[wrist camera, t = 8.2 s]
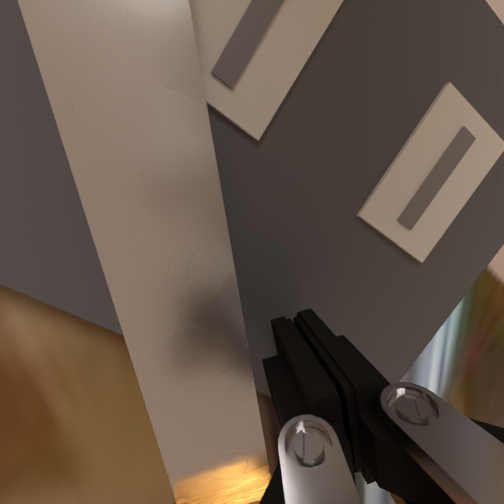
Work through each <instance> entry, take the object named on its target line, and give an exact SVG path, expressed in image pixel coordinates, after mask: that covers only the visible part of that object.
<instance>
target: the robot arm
mask: <svg viewBox="0 0 504 504" xmlns="http://www.w3.org/2000/svg"><path fill="white" fill-rule="evenodd" d="M293 320H294V323H293V321H292V320H291V319H290V318H289V319H286V318H285V317H284V316H282V317H279V318H275V319H272V320H271V326H272V331H273V336H274V340H275V345H276V349H277V354H278V355H275V356H272V357H268V358H265V359H262V363H263V367H264V371H265V375H266V379H267V383H268V387H269V391H270V394H271V397H272V401H273V404H274V407H275V410H276V413H277V417H278V420H279V423H280V426H281V432H280V435H279V438H278V449H279V457H280V461H279V463H278V465H277V467H276V470H275V472H274V474H273V476H272V478H271V480H270V482H269V484H268V486H267V488H266V490H265V492H264V494H263V496H262V498H261V500H260V502H259V504H362V503H361V500H360V497H359V495H358V492H357V489H356V482H355V475H354V472H355V473H356V472H359V471H360V472H361V473H362V475H363V477H364V479H365V481H366V482H367V484H370V483H372V482H375V481H376V482H377V484H378V486H379V487H380V488H382V489H384V490H386V491H388V492H390V494H391V497H392V498H393V500H394V502H395V503H396V504H504V428H501V427H497V426H494V425H490V424H487V423H484V422H480V421H477V420H473V419H470V418H467V417H466V416H465V415H463V414H462V413H460V412H459V411H458V410H456V409H455V408H454V407H452V406H451V405H449V404H448V403H447V402H445V401H444V400H443V399H441V398H440V397H438V396H437V395H436V394H434V393H433V392H431V391H429V390H428V389H426V388H424V387H422V386H419V385H416V384H413V383H407V382H398V383H393V384H390V383H389V382H388V381H387V379H386V378H385V377H384V376H383V375H382V374H381V373H380V372H379V371H378V370H377V369H376V368H375V367H374V366H373V365H372V364H371V363H370V362H369V361H368V360H367V359H366V358H365V356H364V355H363V354H362V353H361V352H360V351H359V350H358V349H357V348H356V347H355V346H354V345H353V344H352V343H351V342H350V341H349V340H348V339H347V338H346V337H345V336H344V335H340V336H335V334H334V333H333V332H332V331H331V330H330V329H329V328H328V327H327V325H326V324H325V323H324V322H323V321H322V320H321V319H320V318H319V317H318V315H317V314H316V313H315V312H314V311H313V310H312V309H311V308H309V309H306V310H303V311H299V312H297V316H295V317H293Z"/></svg>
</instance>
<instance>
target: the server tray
mask: <svg viewBox="0 0 504 504" xmlns="http://www.w3.org/2000/svg"><path fill="white" fill-rule="evenodd" d="M189 5H190V11H191V17H192V22H193V28H194V34H195V40H196V46H197V52H198V57H199V63H200V69H201V75H202V81H203V86H204V92H205V98H206V104H207V110H208V115H209V121H210V127H211V133H212V139H213V145H214V150H215V156H216V162H217V168H218V174H219V179H220V185H221V191H222V197H223V203H224V209H225V214H226V220H227V226H228V232H229V238H230V243H231V249H232V255H233V261H234V267H235V273H236V278H237V284H238V290H239V296H240V302H241V307H242V313H243V319H244V325H245V331H246V337H247V342H248V348H249V354H250V360H251V366H252V371H253V377H254V383H255V389H256V391H257V392H259V393H262V394H264V395H266V396H269V397H271V394H270V391H269V387H268V383H267V379H266V375H265V371H264V367H263V363H262V359H265V358H268V357H272V356H275V355H278V354H277V349H276V345H275V340H274V336H273V331H272V326H271V320H272V319H275V318H279V317H282V316H284V317H285V318H286V319H289V318H290V319H291V320H292V321H293V323H294V320H293V317H295V316H297V312H299V311H303V310H306V309H309V308H311V309H312V310H313V311H314V312H315V313H316V314H317V315H318V317H319V318H320V319H321V320H322V321H323V322H324V323H325V324H326V325H327V327H328V328H329V329H330V330H331V331H332V332H333V333H334V334H335V336H340V335H344V336H345V337H346V338H347V339H348V340H349V341H350V342H351V343H352V344H353V345H354V346H355V347H356V348H357V349H358V350H359V351H360V352H361V353H362V354H363V355H364V356H365V358H366V359H367V360H368V361H369V362H370V363H371V364H372V365H373V366H374V367H375V368H376V369H377V370H378V371H379V372H380V373H381V374H382V375H383V376H384V377H385V378H386V379H387V381H388V382H389V383H390V384H393V383H398V382H399V381H400V380H401V379H402V377H403V376H404V375H405V373H406V372H407V371H408V369H409V368H410V367H411V366H412V364H413V363H414V362H415V360H416V359H417V358H418V356H419V355H420V354H421V352H422V351H423V350H424V348H425V347H426V346H427V344H428V343H429V342H430V340H431V339H432V338H433V337H434V335H435V334H436V333H437V331H438V330H439V329H440V327H441V326H442V325H443V323H444V322H445V321H446V319H447V318H448V317H449V315H450V314H451V313H452V311H453V310H454V309H455V308H456V306H457V305H458V304H459V302H460V301H461V300H462V298H463V297H464V296H465V294H466V293H467V292H468V290H469V289H470V288H471V286H472V285H473V284H474V282H475V281H476V280H477V279H478V277H479V276H480V275H481V273H482V272H483V271H484V269H485V268H486V267H487V265H488V264H489V263H490V261H491V260H492V259H493V257H494V256H495V255H496V253H497V252H498V251H499V249H500V248H501V247H502V246H503V244H504V25H503V23H502V22H501V21H500V19H499V18H498V17H497V15H496V14H495V13H494V11H493V10H492V9H491V7H490V6H489V5H488V3H487V2H486V1H485V0H189ZM0 285H3V286H5V287H7V288H10V289H12V290H15V291H17V292H19V293H22V294H24V295H27V296H29V297H31V298H34V299H36V300H39V301H41V302H43V303H46V304H48V305H51V306H53V307H55V308H58V309H60V310H63V311H65V312H67V313H70V314H72V315H75V316H77V317H79V318H82V319H84V320H87V321H89V322H91V323H94V324H96V325H99V326H101V327H103V328H106V329H108V330H111V331H113V332H115V333H118V334H120V335H123V332H122V329H121V326H120V322H119V319H118V316H117V313H116V310H115V307H114V303H113V300H112V297H111V294H110V291H109V288H108V285H107V281H106V278H105V275H104V272H103V269H102V266H101V262H100V259H99V256H98V253H97V250H96V247H95V243H94V240H93V237H92V234H91V231H90V228H89V224H88V221H87V218H86V215H85V212H84V209H83V205H82V202H81V199H80V196H79V193H78V190H77V186H76V183H75V180H74V177H73V174H72V171H71V168H70V164H69V161H68V158H67V155H66V152H65V149H64V145H63V142H62V139H61V136H60V133H59V130H58V126H57V123H56V120H55V117H54V114H53V111H52V107H51V104H50V101H49V98H48V95H47V92H46V88H45V85H44V82H43V79H42V76H41V73H40V69H39V66H38V63H37V60H36V57H35V54H34V51H33V47H32V44H31V41H30V38H29V35H28V32H27V28H26V25H25V22H24V19H23V16H22V13H21V9H20V6H19V3H18V0H0ZM123 336H124V335H123ZM271 398H272V397H271Z"/></svg>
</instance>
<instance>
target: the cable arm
mask: <svg viewBox="0 0 504 504" xmlns="http://www.w3.org/2000/svg"><path fill="white" fill-rule="evenodd" d="M18 3H19V6H20V9H21V13H22V16H23V19H24V22H25V25H26V28H27V32H28V35H29V38H30V41H31V44H32V47H33V51H34V54H35V57H36V60H37V63H38V66H39V69H40V73H41V76H42V79H43V82H44V85H45V88H46V92H47V95H48V98H49V101H50V104H51V107H52V111H53V114H54V117H55V120H56V123H57V126H58V130H59V133H60V136H61V139H62V142H63V145H64V149H65V152H66V155H67V158H68V161H69V164H70V168H71V171H72V174H73V177H74V180H75V183H76V186H77V190H78V193H79V196H80V199H81V202H82V205H83V209H84V212H85V215H86V218H87V221H88V224H89V228H90V231H91V234H92V237H93V240H94V243H95V247H96V250H97V253H98V256H99V259H100V262H101V266H102V269H103V272H104V275H105V278H106V281H107V285H108V288H109V291H110V294H111V297H112V300H113V303H114V307H115V310H116V313H117V316H118V319H119V322H120V326H121V329H122V332H123V335H124V338H125V341H126V345H127V348H128V351H129V354H130V357H131V360H132V364H133V367H134V370H135V373H136V376H137V379H138V383H139V386H140V389H141V392H142V395H143V398H144V402H145V405H146V408H147V411H148V414H149V417H150V420H151V424H152V427H153V430H154V433H155V436H156V439H157V443H158V446H159V449H160V452H161V455H162V458H163V462H164V465H165V468H166V471H167V474H168V477H169V481H170V484H171V487H172V490H173V493H174V496H175V500H176V503H174V504H259V502H260V500H261V498H262V496H263V494H264V492H265V490H266V488H267V486H268V484H269V482H270V480H271V478H272V476H273V473H270V470H269V464H268V459H267V453H266V447H265V441H264V435H263V430H262V424H261V418H260V412H259V406H258V400H257V395H256V389H255V383H254V377H253V371H252V366H251V360H250V354H249V348H248V342H247V337H246V331H245V325H244V319H243V313H242V307H241V302H240V296H239V290H238V284H237V278H236V273H235V267H234V261H233V255H232V249H231V243H230V238H229V232H228V226H227V220H226V214H225V209H224V203H223V197H222V191H221V185H220V179H219V174H218V168H217V162H216V156H215V150H214V145H213V139H212V133H211V127H210V121H209V115H208V110H207V104H206V98H205V92H204V86H203V81H202V75H201V69H200V63H199V57H198V52H197V46H196V40H195V34H194V28H193V22H192V17H191V11H190V5H189V0H18Z"/></svg>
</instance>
